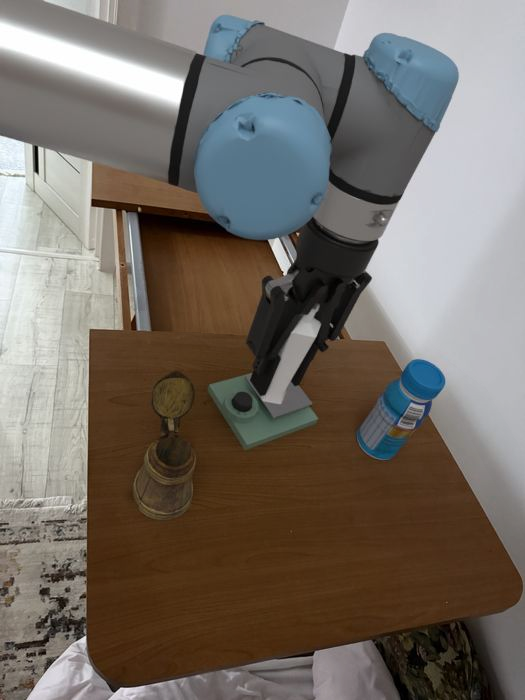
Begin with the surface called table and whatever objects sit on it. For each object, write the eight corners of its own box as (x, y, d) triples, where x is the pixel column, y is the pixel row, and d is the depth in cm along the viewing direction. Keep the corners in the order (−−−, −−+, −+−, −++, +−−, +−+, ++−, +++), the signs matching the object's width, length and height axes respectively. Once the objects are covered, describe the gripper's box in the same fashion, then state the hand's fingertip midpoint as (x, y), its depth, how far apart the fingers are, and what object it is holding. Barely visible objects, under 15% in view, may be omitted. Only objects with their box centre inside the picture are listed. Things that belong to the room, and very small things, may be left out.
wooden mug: (185, 442, 84) (207, 369, 72) (195, 518, 75) (222, 450, 63) (130, 442, 81) (143, 367, 69) (133, 522, 72) (149, 451, 60)
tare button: (238, 414, 87) (240, 407, 86) (229, 400, 89) (231, 394, 87) (253, 409, 89) (256, 402, 88) (244, 395, 90) (246, 389, 89)
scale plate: (272, 419, 88) (273, 417, 87) (244, 378, 93) (245, 376, 93) (311, 406, 93) (313, 404, 92) (282, 367, 98) (283, 365, 97)
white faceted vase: (287, 382, 67) (328, 295, 57) (289, 407, 64) (332, 320, 54) (254, 375, 66) (289, 286, 56) (254, 401, 63) (291, 311, 53)
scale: (242, 451, 86) (247, 439, 83) (204, 391, 93) (208, 378, 90) (315, 424, 95) (322, 412, 92) (276, 371, 102) (281, 359, 99)
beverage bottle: (346, 439, 94) (394, 367, 81) (368, 417, 100) (417, 347, 86) (382, 470, 91) (438, 401, 78) (403, 446, 97) (459, 378, 84)
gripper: (292, 255, 42) (228, 424, 57) (430, 239, 51) (343, 388, 67) (248, 206, 46) (199, 376, 61) (384, 199, 55) (312, 349, 70)
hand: (274, 382), depth 64 cm, fingers closed on white faceted vase, 5 cm apart
